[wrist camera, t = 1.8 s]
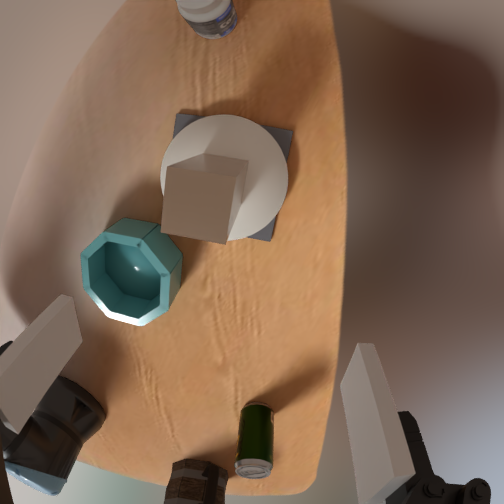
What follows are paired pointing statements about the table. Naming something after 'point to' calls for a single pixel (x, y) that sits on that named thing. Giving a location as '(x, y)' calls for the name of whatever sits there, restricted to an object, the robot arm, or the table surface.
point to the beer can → (255, 441)
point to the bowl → (132, 271)
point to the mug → (196, 483)
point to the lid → (222, 180)
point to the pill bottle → (209, 16)
